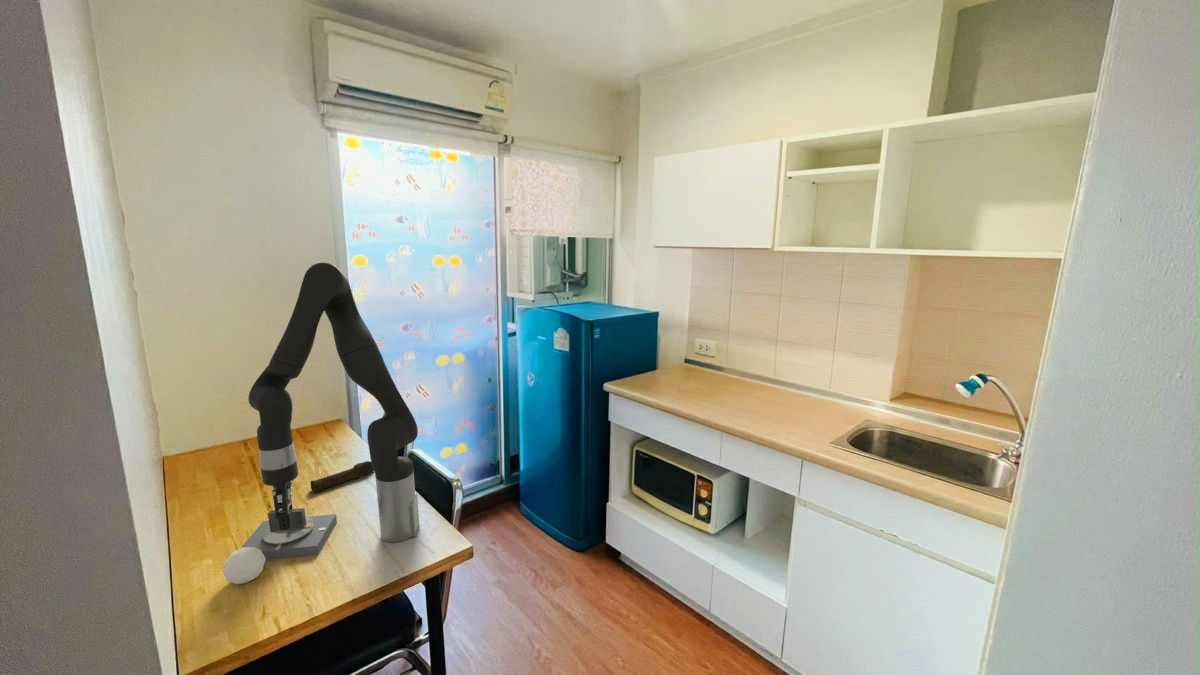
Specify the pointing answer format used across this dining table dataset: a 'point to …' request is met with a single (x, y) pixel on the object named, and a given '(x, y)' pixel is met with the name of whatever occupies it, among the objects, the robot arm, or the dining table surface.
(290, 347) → the robot arm
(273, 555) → the dial panel
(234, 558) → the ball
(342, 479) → the hand tool
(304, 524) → the dial knob
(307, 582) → the dining table surface
